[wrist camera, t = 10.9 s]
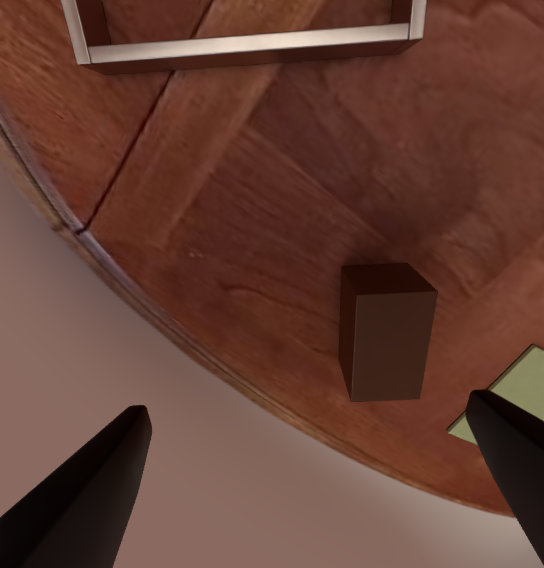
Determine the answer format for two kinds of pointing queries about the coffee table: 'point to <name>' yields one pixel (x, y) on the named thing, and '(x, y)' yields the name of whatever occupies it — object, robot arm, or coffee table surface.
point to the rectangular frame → (237, 43)
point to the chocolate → (384, 331)
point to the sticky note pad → (515, 389)
